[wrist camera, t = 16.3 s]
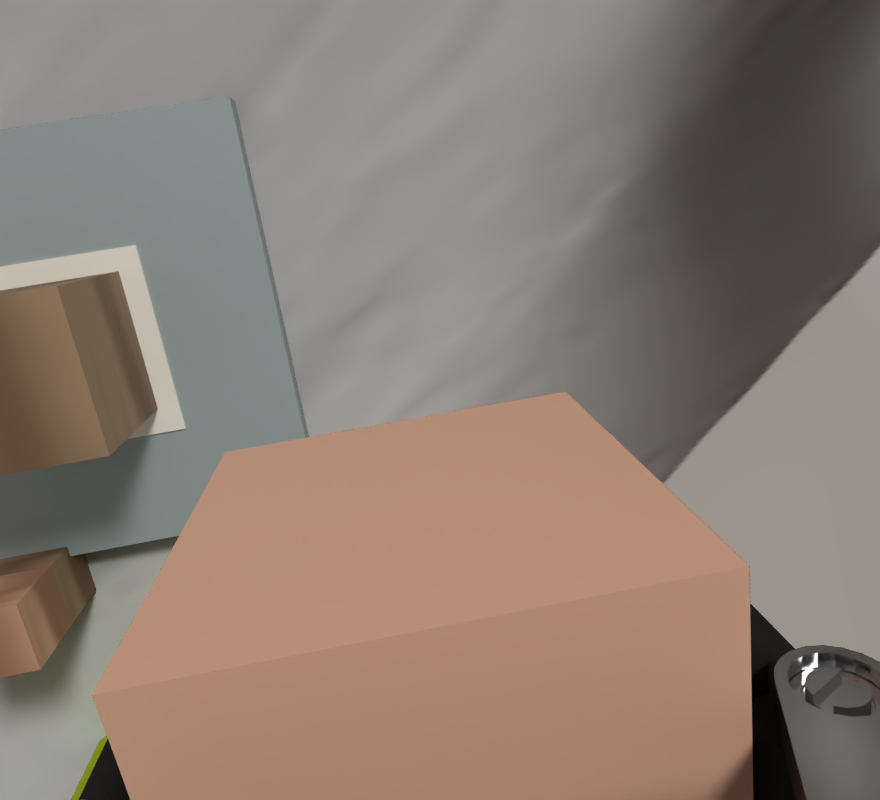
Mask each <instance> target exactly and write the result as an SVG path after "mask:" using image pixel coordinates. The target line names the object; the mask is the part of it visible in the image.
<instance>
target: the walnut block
mask: <svg viewBox="0 0 880 800" xmlns="http://www.w3.org/2000/svg"><path fill="white" fill-rule="evenodd" d="M157 409H158V408H157V404H156V401H155V397H154V394H153V390H152V387H151V383H150V380H149V376H148V373H147V369H146V366H145V362H144V359H143V355H142V352H141V348H140V345H139V341H138V338H137V334H136V331H135V327H134V324H133V320H132V317H131V313H130V309H129V306H128V302H127V299H126V295H125V292H124V288H123V285H122V281H121V278H120V274H119V271H116V272H110V273H104V274H98V275H92V276H86V277H80V278H73V279H67V280H61V281H55V282H49V283H43V284H37V285H31V286H25V287H19V288H13V289H6V290H0V476H2V475H8V474H13V473H19V472H24V471H30V470H35V469H40V468H46V467H51V466H57V465H62V464H68V463H73V462H79V461H84V460H90V459H95V458H101V457H106V456H110V455H111V454H112V453H113V452H114V451H115V450H116V449H117V448H118V447H119V446H120V445H121V444H122V443H123V442H124V441H126V440H127V439H128V438H129V437H130V436H131V435H132V434H133V433H134V432H135V431H136V430H137V429H138V428H139V427H140V426H141V425H142V424H143V423H144V422H145V421H146V420H147V419H148V418H149V417H150V416H151V415H152V414H153V413H154V412H155V411H156V410H157Z"/></svg>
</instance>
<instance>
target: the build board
mask: <svg viewBox="0 0 880 800" xmlns="http://www.w3.org/2000/svg"><path fill="white" fill-rule="evenodd" d="M116 271H119V274H120V278H121V281H122V285H123V288H124V292H125V295H126V299H127V302H128V306H129V309H130V313H131V317H132V320H133V324H134V327H135V331H136V334H137V338H138V341H139V345H140V348H141V352H142V355H143V359H144V362H145V366H146V369H147V373H148V376H149V380H150V383H151V387H152V390H153V394H154V397H155V401H156V404H157V408H158V409H157V410H156V411H155V412H154V413H153V414H152V415H151V416H150V417H149V418H148V419H147V420H146V421H145V422H144V423H143V424H142V425H141V426H140V427H139V428H138V429H137V430H136V431H135V432H134V433H133V434H132V435H131V436H130V437H129V438H128V439H127V440H126V441H124V442H123V443H122V444H121V445H120V446H119V447H118V448H117V449H116V450H115V451H114V452H113V453H112V454H111V455H110V456H106V457H101V458H95V459H90V460H84V461H79V462H73V463H68V464H62V465H57V466H51V467H46V468H40V469H35V470H30V471H24V472H19V473H13V474H8V475H2V476H0V559H4V558H10V557H15V556H20V555H25V554H31V553H36V552H41V551H47V550H52V549H57V548H62V547H67V548H68V551H69V553H70V556H75V555H80V554H85V553H91V552H96V551H101V550H106V549H112V548H117V547H122V546H127V545H133V544H138V543H143V542H148V541H154V540H159V539H164V538H169V537H175V536H179V535H180V534H181V532H182V530H183V528H184V526H185V524H186V523H187V521H188V519H189V517H190V515H191V513H192V512H193V510H194V508H195V506H196V504H197V503H198V501H199V499H200V497H201V495H202V493H203V492H204V490H205V488H206V486H207V484H208V482H209V481H210V479H211V477H212V475H213V473H214V472H215V470H216V468H217V466H218V464H219V462H220V461H221V459H222V457H223V455H224V453H225V452H228V451H234V450H239V449H245V448H251V447H256V446H262V445H268V444H273V443H279V442H285V441H290V440H296V439H301V438H307V437H309V436H308V432H307V427H306V423H305V418H304V413H303V409H302V404H301V400H300V395H299V391H298V386H297V382H296V377H295V373H294V368H293V364H292V359H291V354H290V350H289V345H288V341H287V336H286V332H285V327H284V323H283V318H282V314H281V309H280V305H279V300H278V295H277V291H276V286H275V282H274V277H273V273H272V268H271V264H270V259H269V255H268V250H267V246H266V241H265V237H264V232H263V227H262V223H261V218H260V214H259V209H258V205H257V200H256V196H255V191H254V187H253V182H252V178H251V173H250V168H249V164H248V159H247V155H246V150H245V146H244V141H243V137H242V132H241V128H240V123H239V119H238V114H237V110H236V105H235V101H234V100H233V99H232V98H231V97H230V96H228V97H221V98H214V99H207V100H200V101H194V102H187V103H180V104H173V105H166V106H159V107H153V108H146V109H139V110H132V111H125V112H118V113H111V114H105V115H98V116H91V117H84V118H77V119H70V120H64V121H57V122H50V123H43V124H36V125H29V126H23V127H16V128H9V129H2V130H0V290H6V289H13V288H19V287H25V286H31V285H37V284H43V283H49V282H55V281H61V280H67V279H73V278H80V277H86V276H92V275H98V274H104V273H110V272H116Z"/></svg>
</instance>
